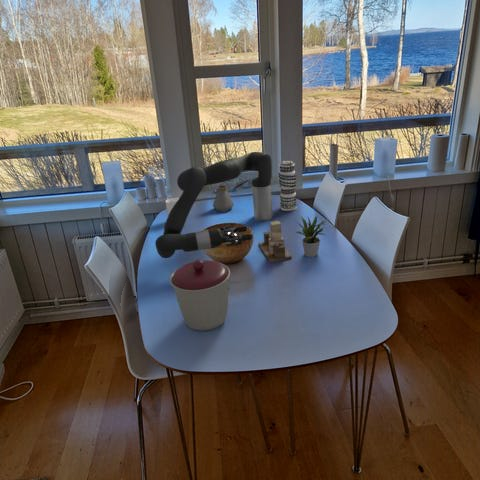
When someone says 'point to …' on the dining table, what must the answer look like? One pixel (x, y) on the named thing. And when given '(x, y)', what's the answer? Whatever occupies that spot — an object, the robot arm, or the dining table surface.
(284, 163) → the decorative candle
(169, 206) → the cup
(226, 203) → the coffee pot
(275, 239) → the tan stepped block
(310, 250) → the house plant
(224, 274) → the canister
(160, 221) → the dining table surface
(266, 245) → the base board
